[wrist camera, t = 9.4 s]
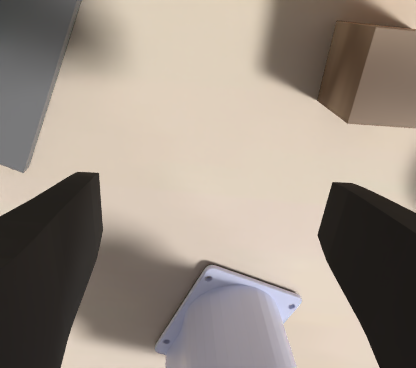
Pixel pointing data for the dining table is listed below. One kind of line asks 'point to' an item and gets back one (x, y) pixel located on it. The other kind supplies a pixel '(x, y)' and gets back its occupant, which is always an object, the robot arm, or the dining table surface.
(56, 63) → the slate board
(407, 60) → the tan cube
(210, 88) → the dining table surface
